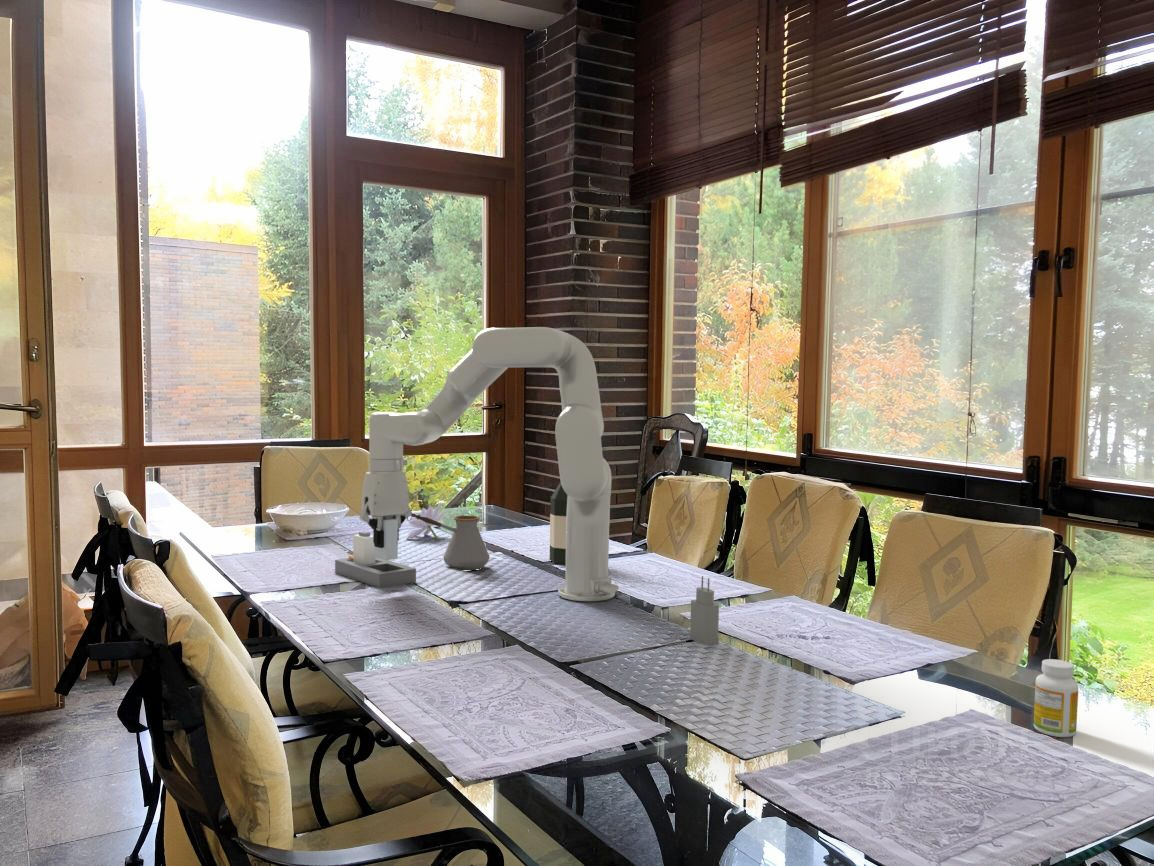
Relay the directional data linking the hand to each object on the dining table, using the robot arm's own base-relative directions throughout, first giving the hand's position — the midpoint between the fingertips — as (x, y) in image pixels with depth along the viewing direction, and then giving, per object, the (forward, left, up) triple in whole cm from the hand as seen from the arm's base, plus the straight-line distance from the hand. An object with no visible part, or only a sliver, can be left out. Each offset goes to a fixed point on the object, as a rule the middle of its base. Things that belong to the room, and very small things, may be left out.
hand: (386, 545), depth 210 cm
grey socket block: (+5, 0, -9) cm, 10 cm away
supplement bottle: (-135, -26, -9) cm, 138 cm away
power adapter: (-75, -22, -9) cm, 79 cm away
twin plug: (+10, 0, -8) cm, 13 cm away
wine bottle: (-6, -50, -9) cm, 51 cm away
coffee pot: (+4, -20, -9) cm, 22 cm away
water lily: (+45, -40, -9) cm, 61 cm away
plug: (0, 0, -3) cm, 3 cm away
